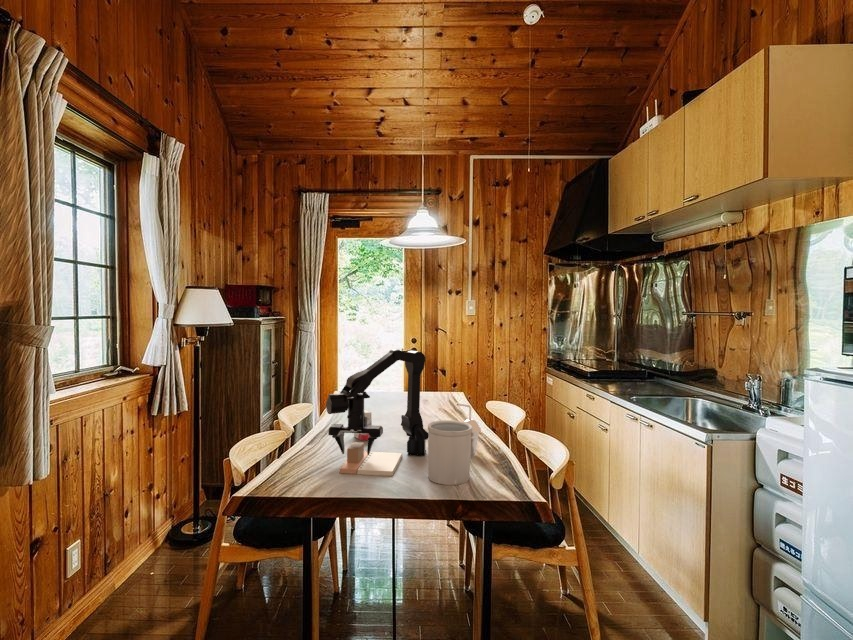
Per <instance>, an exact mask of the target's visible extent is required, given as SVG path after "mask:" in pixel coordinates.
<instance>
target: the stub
mask: <svg viewBox="0 0 853 640" xmlns="http://www.w3.org/2000/svg"><path fill="white" fill-rule="evenodd" d="M346 454H347V455H346V460H345V461H344V463H343V464H341V466H340V467H339V471H338V473H339V474H351V475H355V474H356V475H358V474H357V471H358V468H359V467H360V466H361V464H362V463H363V462H364V460H365V459H366V458H367V456H368V454H367V450H365V442H356V441H355V442H354V441H353V442H352V443H351V444H350V445H349V446H348V447H347V449H346Z"/></svg>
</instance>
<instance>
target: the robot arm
mask: <svg viewBox="0 0 853 640" xmlns="http://www.w3.org/2000/svg"><path fill="white" fill-rule="evenodd" d="M398 361H402V362H404V365H405V369H406V372H407V400H406V401H407V402H406V403H407V405H406V412H405V414H404V415H403V414H402V415H401V416H400V417H401V423H400V426H401V427H402V430H403V431H404V432H405V434H406V437H408V440H407V442H406V452H407V456H412V457H413V456H415V457H425V455H426V453H427V450H426V442H427V441H426V440H428V432H429V431H428V430H426V429H425V428H424V423H423V422H424V421H423V418H422V415H421V413H420V405H421V404H420V403H421V401H420V400H421V399H420V398H421V378H422V377H421V375H422V372H423V371H424V370H425V369H424V368H425V364H426V355H425V354H424V353H423V352H422V351H417V350H408V351H404V350H403V351H402V350H401V349H395V348H392V349H389V351H388V352H387V353H386V354H384V355H383V356H382V357H380V359H379V358H378V360H377V361H375V362H374V363H372V364H371V365H370V366H368V367H367V368H365V369H364V370H362V371H358V372H355V373H354V374H352V375H350V376H349V377H348V378H346V383H345V385H344V387H343V388H342V389H341V390H340V393H329V394H328V395H327V396H328V397H327V399H326V403H325V408H326V412H327V414H328V415H333V414H343V413H346V412H347V417H346V419H347V427H346V426H344V424H342V423H334V424H333V425H331V426H330V427H329V428H328V436H331V437H332V439H334V440H335V441H336V443H337V445H338V447H339V450H340V452H341V454H342V455H344V454H345V440H344V438H345V434H346V433H347V434H349V433H350V434H354V433H367V434H369V435H370V436H369V437H368V440H367V450H366V451H367V454H368V455H369V454H370V452H371V450H372V447H373V444H374V441H375V440H377V439H378V438H381V436H382V435H383V434H384V427H383V426H382V425H373V424H372V426H371V427H370V428H364V427H366V426H367V419H368V418H367V417H365V412H364V409H365V399H370V398H371V396H370V395H369V394H368V393H367V392H366V390H367V389H368V388H369V387H370V386H371V384H372V382H373V380H374V379H376V378H377V377H378V376H380V375H381V374H382V373H383V372H384V371H386V370H387V369H389V368H390V367H391V366H393V365H394V364H395V363H396V362H398ZM358 430H361V431H358Z"/></svg>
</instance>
